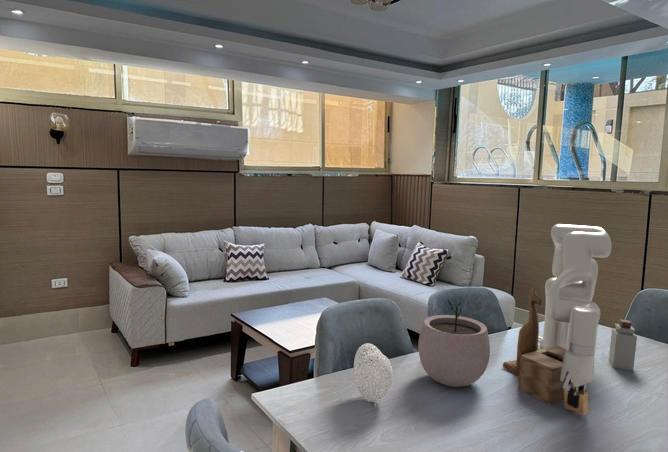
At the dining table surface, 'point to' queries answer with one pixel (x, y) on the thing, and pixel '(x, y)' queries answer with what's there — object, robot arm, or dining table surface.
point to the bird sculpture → (526, 334)
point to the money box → (543, 374)
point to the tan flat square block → (581, 402)
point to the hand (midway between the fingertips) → (575, 404)
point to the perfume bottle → (623, 346)
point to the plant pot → (454, 349)
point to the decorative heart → (372, 373)
